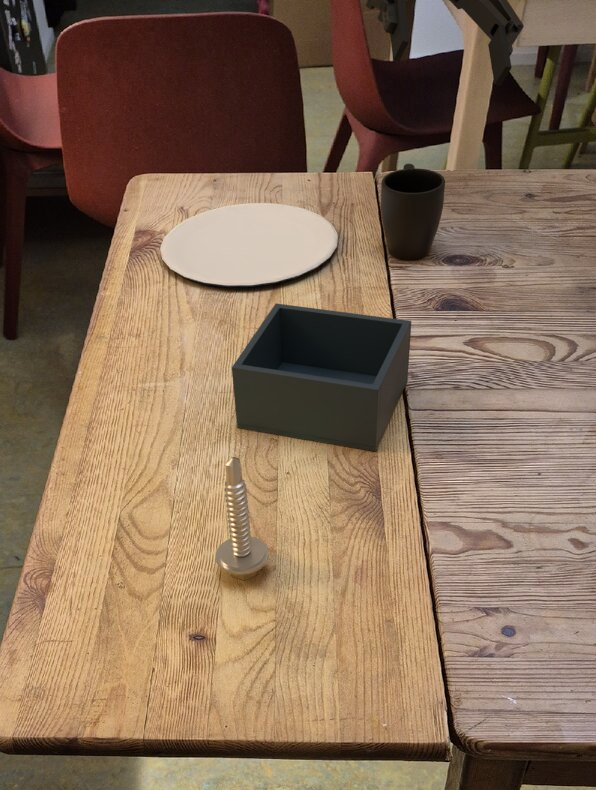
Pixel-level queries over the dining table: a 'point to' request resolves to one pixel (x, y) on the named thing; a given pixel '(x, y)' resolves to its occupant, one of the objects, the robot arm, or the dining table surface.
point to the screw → (239, 530)
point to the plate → (249, 245)
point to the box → (322, 375)
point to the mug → (411, 210)
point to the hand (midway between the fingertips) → (452, 64)
